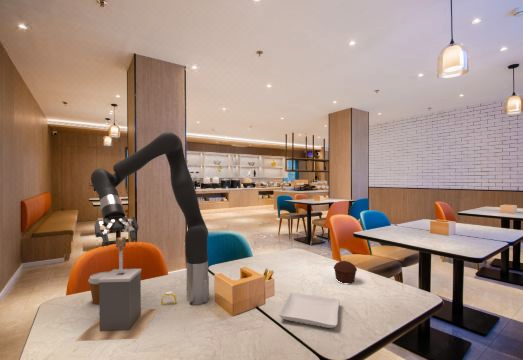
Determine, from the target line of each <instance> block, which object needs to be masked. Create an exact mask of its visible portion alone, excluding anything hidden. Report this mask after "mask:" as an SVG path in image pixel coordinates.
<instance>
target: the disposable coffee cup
mask: <svg viewBox="0 0 523 360" xmlns="http://www.w3.org/2000/svg"><path fill="white" fill-rule="evenodd" d="M109 272H110V271H102V272H97V273H94V274H91V275H90V276H89V278H88V283H89V289H90V293H91V301H92V304H93V305H99V282H98V279H100V278H101V277H103V276H104V275H106V274H107V273H109Z"/></svg>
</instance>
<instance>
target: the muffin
mask: <svg viewBox="0 0 523 360" xmlns="http://www.w3.org/2000/svg"><path fill="white" fill-rule="evenodd" d="M333 269H334V274H335V280H336V279H337V280H338V281H340V282H342V283H352V282H354V283H355V281H356V273H357V272H358V269H357V267H356V266H355V264H354V263H352V262H350V261H348V260H340V261H338V262H336V263H335V264H334V266H333ZM337 280H336V281H337ZM338 281H337V282H338ZM342 283H341V284H342Z"/></svg>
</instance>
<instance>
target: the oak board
mask: <svg viewBox="0 0 523 360" xmlns="http://www.w3.org/2000/svg"><path fill="white" fill-rule="evenodd" d="M158 310H159V308H145V309H143V308H141V316H140V317H139V319H138V320H137V321H136V322H135V324H134V325H133V326H132V328H131V329H130V330H125V331H100V317H99V318H97V319H96V320H95V321H94V322H93V323H92V324H91V325H90V326H89V327H88V328H87V329H86V330H85V331H84V332H83V333H82V334H81V335H80V336H79V337H77V338H76V339H75V342H81V341H106V340H107V341H108V340H109V341H110V340H111V341H112V340H131V339H132V340H138V339H139V338H140V337H141V335H142V334H143V332H144V331H145V330H146V328H147V326H148V324H150V322H151V321H152V319H153V318H154V316H155V314H156V313H157V312H158Z"/></svg>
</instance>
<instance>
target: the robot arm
mask: <svg viewBox="0 0 523 360" xmlns="http://www.w3.org/2000/svg"><path fill="white" fill-rule="evenodd" d="M163 155H165V156H166V159H167V162H168V165H169V172H170V184H171V188H172V192H173V195H174V198H175V201H176V203H177V205H178V206H179V209H180V211H181V212H182V213H183V216H184V218H185V221H186V222H185V223H186V228H187V231H186V233H185V234H184V235H185V236H184V239H185V240H184V242H185V243H184V244H185V245H184V247H185V251H184V252H185V258H186V259H185V260H186V301H187V302H189V304H190V305H193V306H194V305H195V306H196V305H200V304H201V305H202V304H207V303H208V301H209V297H210V287H209V286H210V276H209V255H208V238H209V229H208V228H207V224H206V222H205V220H204V218H203V215H202V213H201V209H200V204H199V200H198V196H197V191H196V188H195V184H194V181H193V179H192V175H191V171H190V170H189V168H188V165H187V161H186V157H185V153H184V148H183V142H182V139H181V138H180V136H178V135H177V134H175V133H173V132H171V131H164V132H162V133H161V134H160V135H158V136H157V137H156V138H154V139H153V140H152V141H151V142H149V143H148V144H146V145H145V146H144V147H142V148H140V149H139V150H137V151H135V152H133V153H132V154H131V155H129V156H127V157H126V158H124V159H122V160H120V161H118V162H116V163H115V164H114V165H113V167H112V168H113V172H114V173H113V174H112V173H111V172H109V171H108V170H107V169H104V168H96V169H95V170H93V171H92V173H91V176H90V181H91V185H92V186H93V189H94V190H95V191H96V193H97V194H98V199H99V205H100V206H99V208H100V212H101V217H102V220H103V221H100V220H98V219H95V221H94V235H95V236H94V237H96V238H101V239H102V243H103V246H105V247H108V246H109V245H110V240H109V236H108V235H109V233H110V232H116V231H124V232H125V233H128V234H129V239H130V242H131V243H134V242H135V240H136V238H137V237H136V236H137V235H136V233H137V232H138V230H139V224H138V221H137V219H136V217H135V216H132V217H131V218H127V217H126V213H125V210H124V207H123V203H122V200H121V198H120V195H119V192H118V189H117V187H118V186H119V185H120V184H121V183H122V182H123V181H124V180H125V179H126V178H127V177H129V176H131V175H132V174H134V173H137V172H138V171H140V170H141V169H142V168H143V167H145V166H146V165H147V164H149V162H151V161H153V160H154V159H156V158H158V157H160V156H163ZM102 226H103V227H105V228H104V230H103V231H101V227H102Z"/></svg>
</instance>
